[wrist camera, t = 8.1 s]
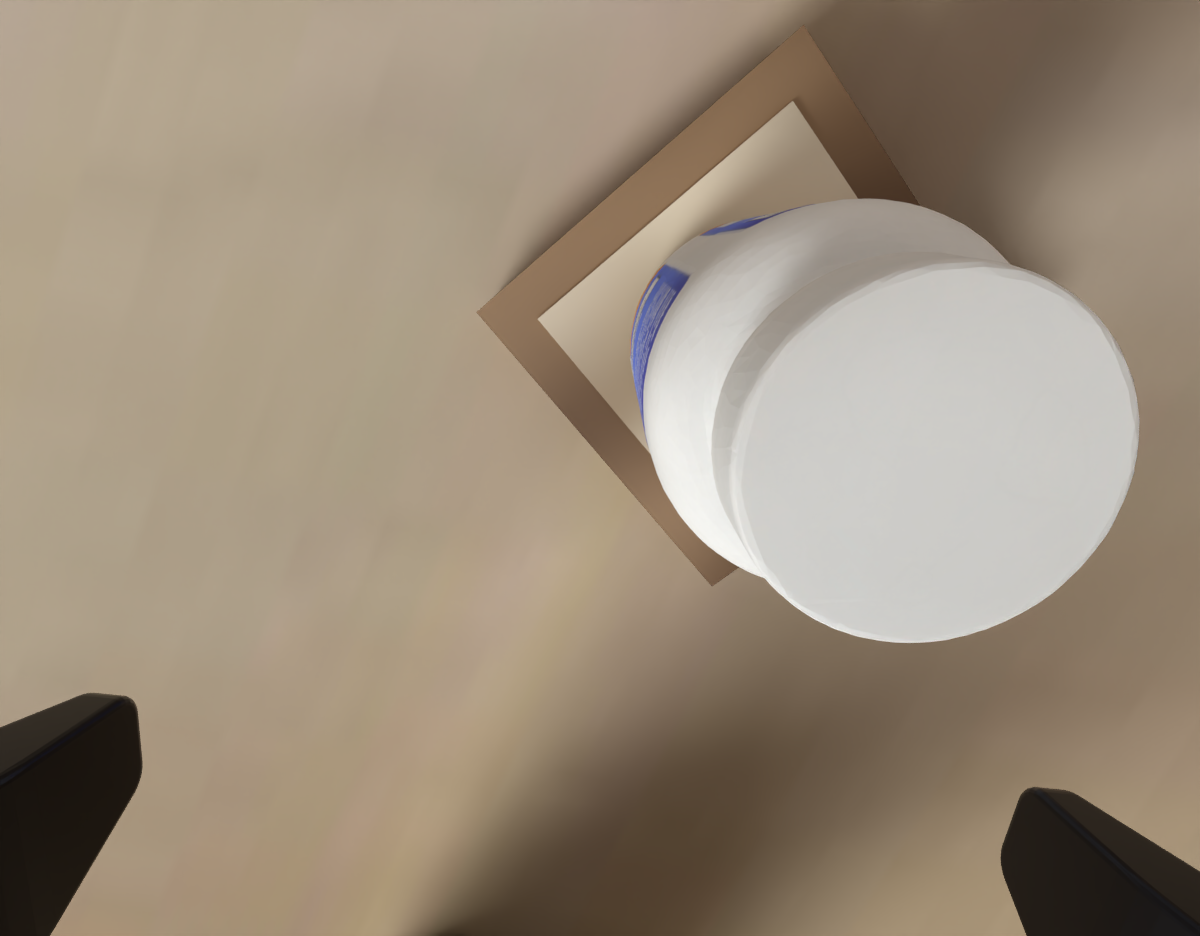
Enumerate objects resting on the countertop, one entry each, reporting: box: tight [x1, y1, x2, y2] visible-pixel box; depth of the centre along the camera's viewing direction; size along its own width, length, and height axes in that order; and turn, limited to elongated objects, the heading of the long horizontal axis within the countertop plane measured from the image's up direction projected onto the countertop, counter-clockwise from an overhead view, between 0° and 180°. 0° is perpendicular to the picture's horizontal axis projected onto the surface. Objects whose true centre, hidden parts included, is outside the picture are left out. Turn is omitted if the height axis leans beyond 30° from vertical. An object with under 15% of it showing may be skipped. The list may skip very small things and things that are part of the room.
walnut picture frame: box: [477, 25, 920, 586], centre depth 17 cm, size 9×9×2 cm
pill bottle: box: [630, 199, 1140, 643], centre depth 11 cm, size 5×5×10 cm
